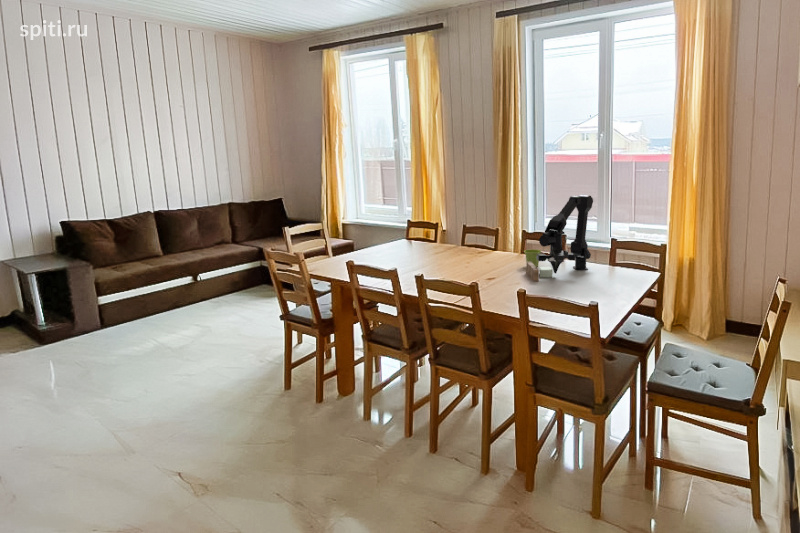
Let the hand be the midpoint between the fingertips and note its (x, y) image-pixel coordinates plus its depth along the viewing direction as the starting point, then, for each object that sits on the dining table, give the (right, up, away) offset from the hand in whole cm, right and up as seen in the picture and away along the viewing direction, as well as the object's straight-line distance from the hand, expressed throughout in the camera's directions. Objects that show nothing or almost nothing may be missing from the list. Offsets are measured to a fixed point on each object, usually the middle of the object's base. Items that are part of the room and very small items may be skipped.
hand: (555, 273), depth 295 cm
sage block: (-4, -1, +3) cm, 5 cm away
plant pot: (-6, +3, +23) cm, 24 cm away
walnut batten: (-12, -2, +1) cm, 12 cm away
